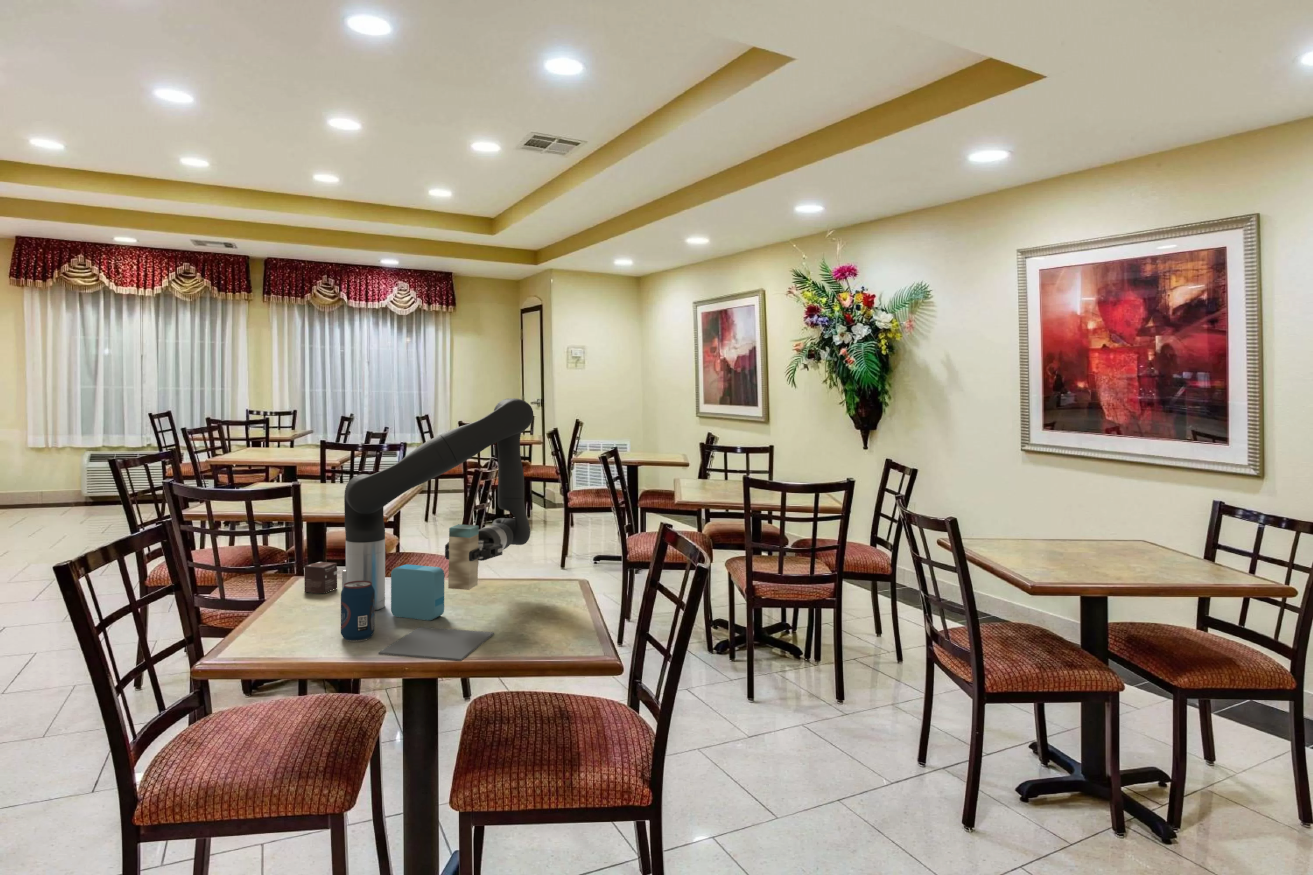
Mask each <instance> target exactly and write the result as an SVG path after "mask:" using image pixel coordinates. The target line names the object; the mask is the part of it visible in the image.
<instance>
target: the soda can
mask: <svg viewBox="0 0 1313 875" xmlns="http://www.w3.org/2000/svg"><path fill="white" fill-rule="evenodd" d="M375 611H376V610H375V590H374V588H373V586H372V582H370V581H351V582H347V583H345V584H344V587H343V589H342V588H341V590H340V635H341V637H343V638H342V639H344V641H346V642H353V641H355V642H362V641H367V640H370V639H371V638H372V636H373V634H374V633H375V632H376V631H375V627H376V624H375V621H376V620H375V618H376V617H375V616H376V614H375V613H376V612H375ZM366 639H367V640H366Z"/></svg>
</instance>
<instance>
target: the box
mask: <svg viewBox="0 0 1313 875" xmlns="http://www.w3.org/2000/svg"><path fill="white" fill-rule="evenodd" d="M336 588H337V589H338V562H325V561H318V562H315V563H310V564H306V565H304V593H305V592H312V593H311V594H317V593H326V592H328V591H330V590H333V589H336ZM337 589H336V590H337ZM333 591H334V590H333ZM328 593H329V592H328ZM326 594H327V593H326Z"/></svg>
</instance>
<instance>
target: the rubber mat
mask: <svg viewBox="0 0 1313 875" xmlns="http://www.w3.org/2000/svg"><path fill="white" fill-rule="evenodd" d="M494 635H495V632H494V631H480V630H468V629H467V630H466V629H456V628H455V629H454V628H441V627H439V628H438V627H430V626H429V627H428V626H427V627H425V626H419V627H417V628H415V629H413V630H412V631H410V632H408V633H407V634H406V635H404V636H403V637H401V638H399V639H398V640H396V641H395V642H393V643H391V644H390V645H387V647H385V648H383V649H381V650H380V651H379V652H378V655H383V654H389V655H388V656H396V655H398V657H408V658H409V657H410V658H422V659H436V660H446V661H461V662H462V661H463V660H464V659H466V657H467V656H469V655H470V654H472V652H474V651H475V650H477V649H478V648H479V647H481V645H482V644H484V643H485V642H486V641H488V640H489V639H490V638H491V637H492V636H494Z"/></svg>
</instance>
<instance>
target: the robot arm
mask: <svg viewBox="0 0 1313 875" xmlns="http://www.w3.org/2000/svg"><path fill="white" fill-rule="evenodd" d="M533 420H534V411H533V407H532V406H531V404H529V403H528V402H527V401H525V400H523V399H522V398H521V399H520V398H505V399H502V400H500V401H498V403H497V404H496V405H495V407H494V410H493V411H492V412H490V413H488V414H487V415H485V416H484V417H482V418H480V419H478V420H475V421H473V422H471V423H466V424H464V425H460V426H458V427H454V428H452V429H449V430H448V431H445V432H442V433H440V434H439V435H436V436H435V437H433V438H430V439H428V440H427V441H425V442H424V443H422V444H420V445H419V446H417V447H416V448H415V449H414V450H412V451H411V452H409V453H408V454H407V455H405V456H404V457H403V458H402V459H400V460H399V461H398V462H396V463H395V464H393V465H391V466H389V467H386V468H384V469H382V470H380V471H378V472H375V473H373V474H366V473H362V474H357V475H356V476H354V477H352V478H351V479H350V480H349V481H348V482H347V483H346V486H345V489H344V504H343V505H344V532H345V569H344V570H342V571H341V590H342V589H343V587H344V584H345V583H347V582H351V581H370V582H372V586H373V588H374V590H375V611H378V610H381V609H383V608H385V605H386V601H385V600H386V527H385V517H384V507H385V506H386V505H388V504H390V503H391V502H392V501H394V500H395V499H397V498H399V497H400V496H401V495H402V494H404V493H406V492H408V491H409V490H411V489H413V488H415V487H418V486H419V485H422V484H424V483H427V482H429V481H431V480H433V479H435V478H437V477H439V476H441V475H443V474H445V473H447V472H449V471H451V470H452V469H454V468H457V467H458V466H460V465H461V464H463V463H465V462H467V461H468V460H470V459H471V458H474V457H475V456H476V455H478V454H479V453H481V452H482V451H484V450H485V449H487V448H488V447H490V446H492V445H494V444H497V445H496V446H497V447H496V448H497V458H498V459H497V466H498V470H497V473H498V474H497V505H498V508H499V509H500V510H503V511H507V512H509V513H511V514H512V516H513V518H508V517H507V518H505V517H500V518H496V519H494V520H493V521H492V523H491V525H488V526H485V527H482V528H479V534H478V548H477V549H474V550H472V551H470V552H469V561H474V560H476V559H478V562H479V561H482V562H483V561H487V560H489V559H493V558H496V557H498V556H503V551H504V550H505V549H507V548H508V547H510V545H514V546H522V545H525V544H526V543H527V542H529V539H530V537H531V527H530V522H529V519H528V515H527V511H526V506H525V505H526V504H525V476H524V468H523V462H522V458H521V438H522V437H521V436H522V433H523V432H524V431H526V430H527V429H528V428H529V427H530V426H531V424H532V422H533ZM444 558H445V559H446V560H449V541H448V542H447V543H446V544H445V545H444Z"/></svg>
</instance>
